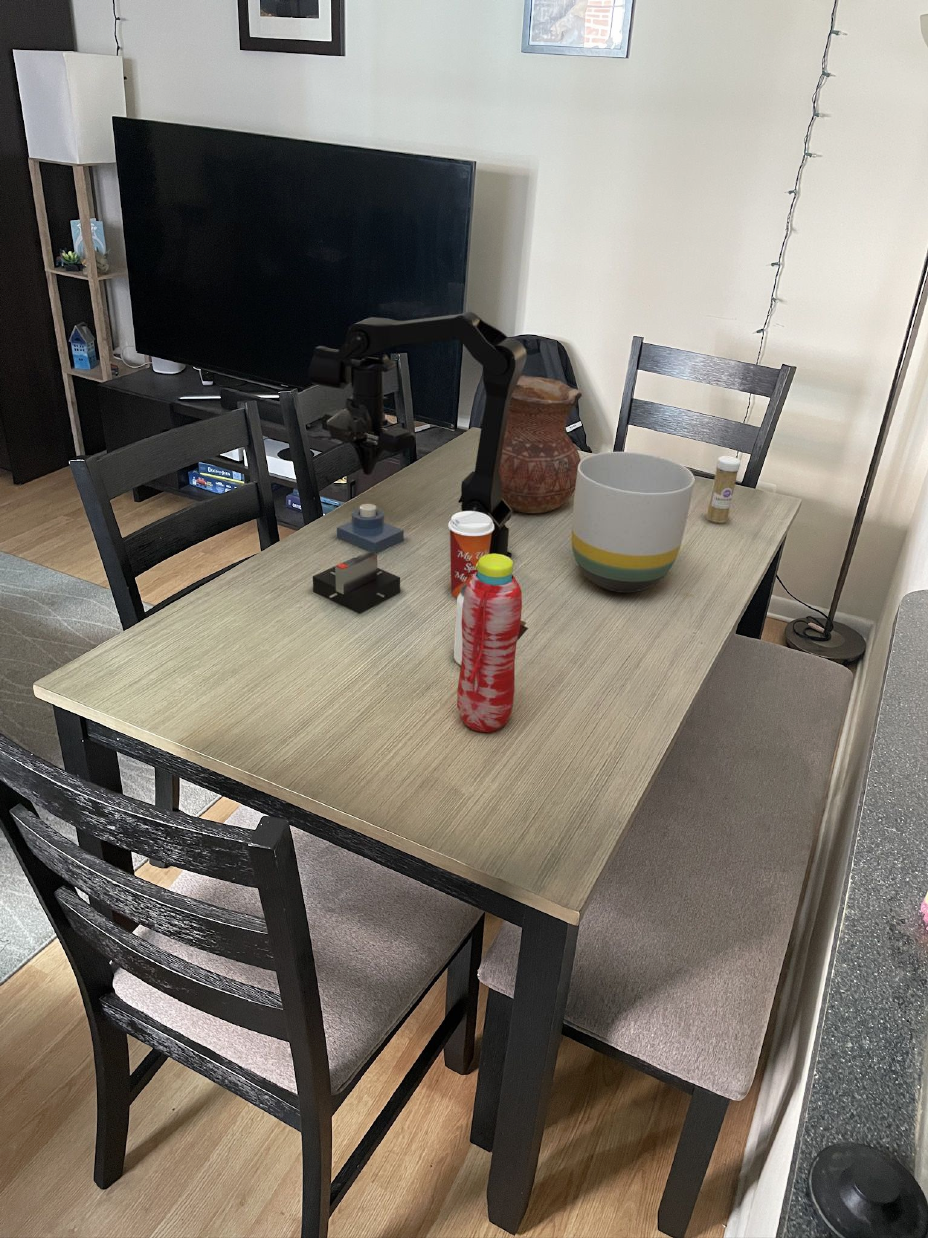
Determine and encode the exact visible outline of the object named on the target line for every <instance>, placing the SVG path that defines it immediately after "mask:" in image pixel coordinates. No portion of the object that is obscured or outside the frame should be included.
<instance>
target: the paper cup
mask: <svg viewBox="0 0 928 1238" xmlns="http://www.w3.org/2000/svg"><path fill="white" fill-rule="evenodd" d="M447 526H448V529H449V544H450V545H449V547H450V548H449V553H450V554H449V555H450V556H449V557H450V559H449V562H450V563H449V564H450V593H451V595H452V597H454V598H455V599H457V598H458V596H459V594H460V589H461V587H462V586H463V585H465V584H467V583H468V582H469V581H470V579H471V578H472V577H474V575H475V573H476V572H477V571H478V569H477V568H476V564H477V562H478V561H479V559H480V557H482V556H484V555H486V554H489V550H490V542H491V535H492V531H493V530H494V524H493V521H492V519H491V518H490V517H489V516H488V515H486V514H484V513H480V512H476V511H463V512H462V511H459V512H455V513H454V514H453V515H452V516H451V518H450V520H449V522H448V524H447Z"/></svg>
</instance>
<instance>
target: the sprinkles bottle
mask: <svg viewBox="0 0 928 1238" xmlns="http://www.w3.org/2000/svg"><path fill="white" fill-rule="evenodd" d="M715 465H716V469H715V475H714V479H713V482H712V487H711V492H710V496H709V497H710V498H709V501H708V508H707V513H706V516H705V518H706V520H708V521H709V522H711V523H715V524H725V523H727V522H728V521H729V513H730V509H731V506H732V501H733V497H734V493H735V492H734V491H735V486H736V482H737V477H738V473H739V471H740V468H741V460H740V459H739V458H737V457H734V456H730V455H722V456H719V457H718V458H717V461H716V464H715Z"/></svg>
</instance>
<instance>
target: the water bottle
mask: <svg viewBox="0 0 928 1238" xmlns="http://www.w3.org/2000/svg"><path fill="white" fill-rule="evenodd" d="M476 568H477V569H478V571H477V572H476V573H475V575H474V577H472V578H471V579H470V581H469V582H468V585H467V587H466V590H465V595H464V600H463V608H462V642H463V645H462V662H461V666H460V669H459V675H458V676H459V677H458V683H457V684H458V685H457V692H456V698H457V699H456V707H457V710H458V714H459V715H460V717H461V721H462V722H463V723H464V725H465V726H466V727H468V728H470V729H471V730H472V731H475V732H482V733H488V732H495V731H497V730H499V729H501V728H503V727H504V725H506V723H507V721H508V720H509V718H510V716H511V714H512V710H513V704H514V699H515V698H514V697H515V671H516V669H515V667H516V665H515V663H516V662H515V661H516V653H517V652H516V650H517V642H518V641H519V640H520V639H521V638H522V636H523V635H524V634H525V633H526V632H527V631H528V630H529V628H528V626H526V625H527V623H528V622H527V621H523V620H522V612H523V611H522V610H523V597H522V596H523V594H522V588H521V586H520V583H519V582H518V581H517V579H516V577H515V575H514V574H513V570H514V561H513V560H512V558H510V557H507V556H504V555H501V554H486V555H484V556H482V557H480V559H479V561H478V562H477V564H476Z"/></svg>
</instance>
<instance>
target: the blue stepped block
mask: <svg viewBox="0 0 928 1238" xmlns="http://www.w3.org/2000/svg"><path fill="white" fill-rule="evenodd" d="M336 538H337V539H340V540H341V541H344V542H346V543H349V544H350V545H351V544H352V545H354V546H356V547H359V548H360V549H363V550H365V551H367V552H369V551H370V552H373V553H375V554H377V553H379V552H382V551H384V550H386V549H388V548H390V547H393V546H394V545H397V544H399V543H401V542H403V541H404V529H401V528H399V527H397V526H394V525H392V524H389V523H387V522H385V512H384V511H383V510H382V509H380V508H378V507H376V516H374V517H362V516H360V507H358V508H356V509H353V511H352V512H351V521H349V522H347V523H343V524H341V525H339V526H336Z"/></svg>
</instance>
